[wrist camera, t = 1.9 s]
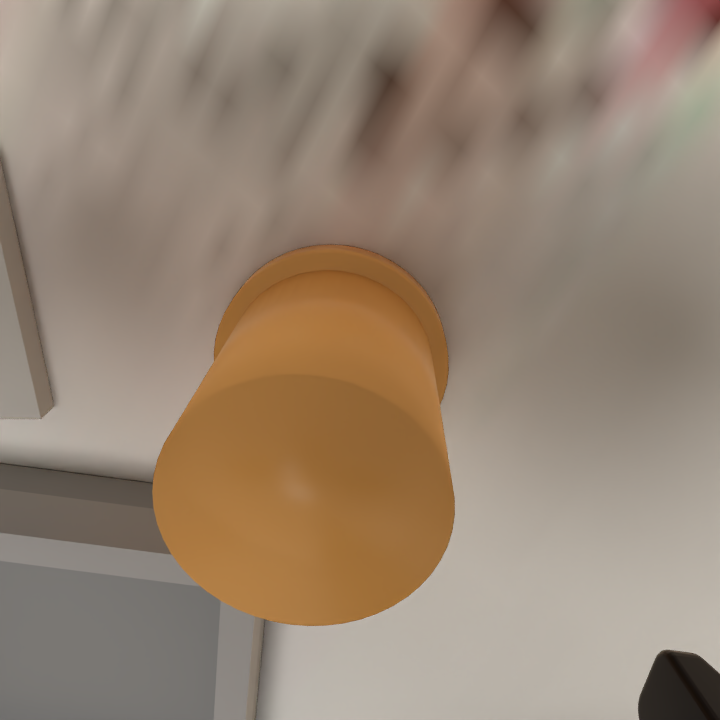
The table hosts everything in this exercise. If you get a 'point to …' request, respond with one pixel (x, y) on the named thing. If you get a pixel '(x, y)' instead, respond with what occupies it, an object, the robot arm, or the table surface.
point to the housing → (110, 611)
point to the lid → (18, 330)
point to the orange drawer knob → (314, 444)
